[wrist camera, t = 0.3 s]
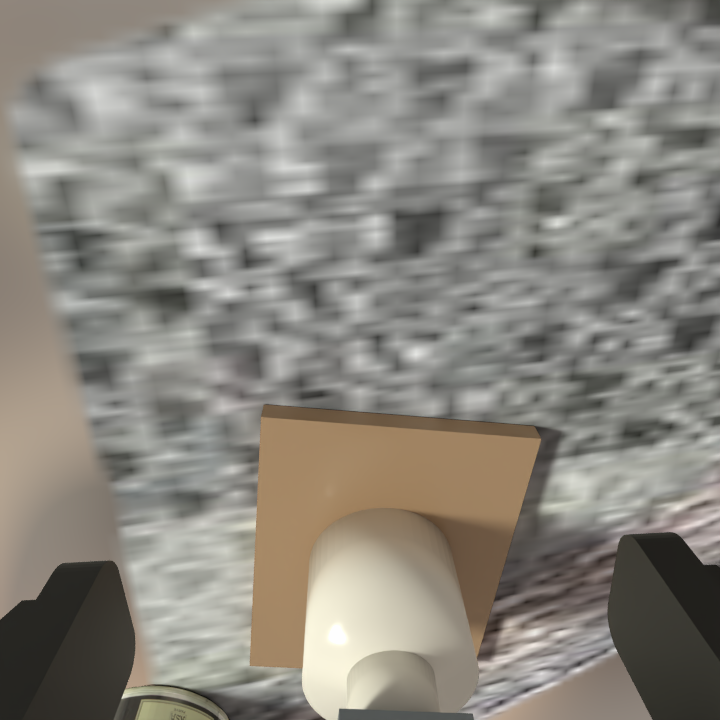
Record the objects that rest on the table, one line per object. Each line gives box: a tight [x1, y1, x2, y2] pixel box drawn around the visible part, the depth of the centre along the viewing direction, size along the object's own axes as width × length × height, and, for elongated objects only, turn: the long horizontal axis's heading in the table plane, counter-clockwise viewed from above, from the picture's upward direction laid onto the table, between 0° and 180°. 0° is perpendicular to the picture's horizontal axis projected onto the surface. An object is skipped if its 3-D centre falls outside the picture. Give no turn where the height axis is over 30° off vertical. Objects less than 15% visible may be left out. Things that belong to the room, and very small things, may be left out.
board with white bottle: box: [250, 405, 541, 720], centre depth 29 cm, size 18×14×11 cm
